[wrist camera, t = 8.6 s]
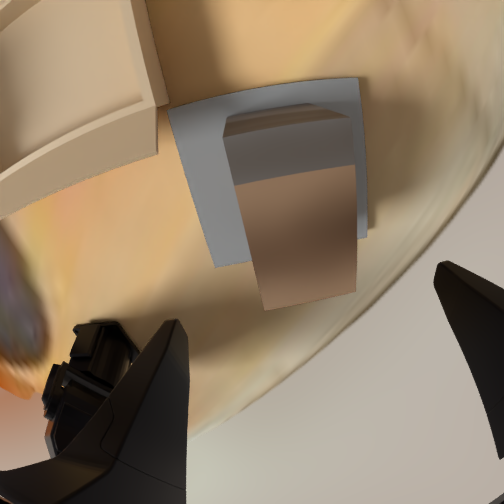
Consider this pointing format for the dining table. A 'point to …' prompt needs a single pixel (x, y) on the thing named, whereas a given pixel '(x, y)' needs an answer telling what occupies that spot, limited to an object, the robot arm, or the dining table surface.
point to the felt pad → (216, 163)
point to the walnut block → (296, 200)
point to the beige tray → (74, 93)
